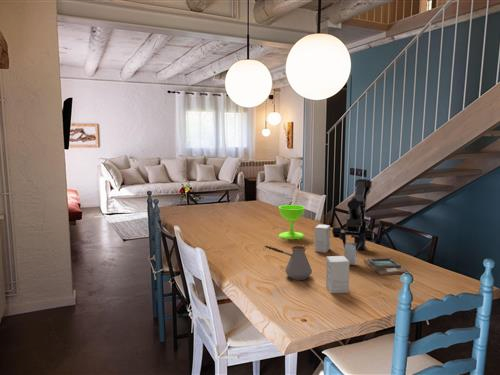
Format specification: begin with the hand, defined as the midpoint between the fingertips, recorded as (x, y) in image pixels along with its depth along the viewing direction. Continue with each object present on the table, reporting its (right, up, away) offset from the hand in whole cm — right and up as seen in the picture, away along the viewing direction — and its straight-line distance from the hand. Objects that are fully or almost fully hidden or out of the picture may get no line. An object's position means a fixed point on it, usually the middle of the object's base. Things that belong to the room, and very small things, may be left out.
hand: (350, 249), depth 179 cm
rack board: (+15, -8, -2) cm, 18 cm away
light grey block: (0, -6, +2) cm, 7 cm away
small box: (-8, -5, +27) cm, 29 cm away
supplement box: (-12, -12, -27) cm, 32 cm away
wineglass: (-21, -1, +57) cm, 61 cm away
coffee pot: (-31, -10, -14) cm, 35 cm away
